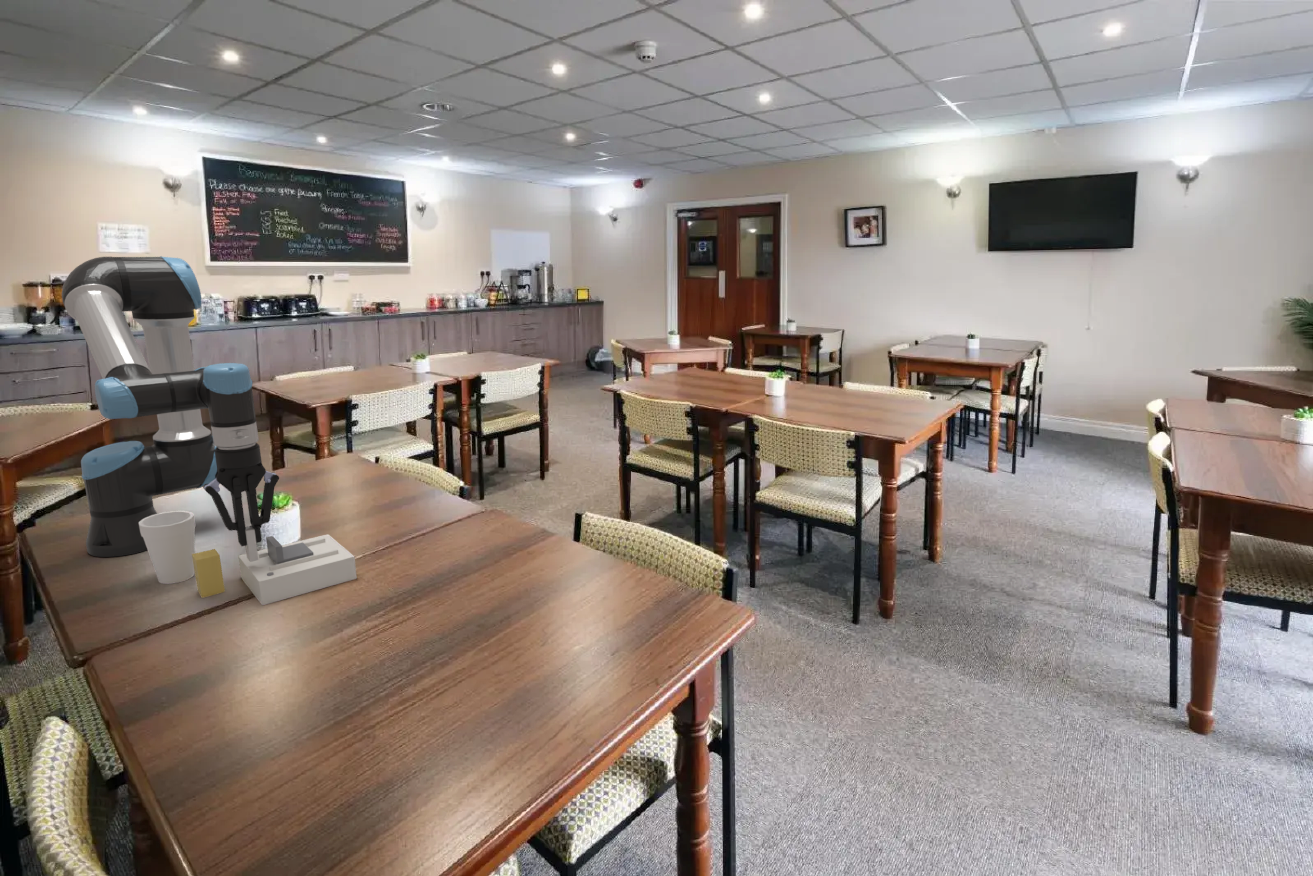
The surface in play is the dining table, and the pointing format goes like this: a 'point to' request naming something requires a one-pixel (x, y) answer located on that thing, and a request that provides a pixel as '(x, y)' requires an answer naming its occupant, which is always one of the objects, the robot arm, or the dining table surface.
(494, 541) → the dining table surface
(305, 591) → the socket
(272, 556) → the shutter
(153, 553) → the foam cup
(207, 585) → the plug
